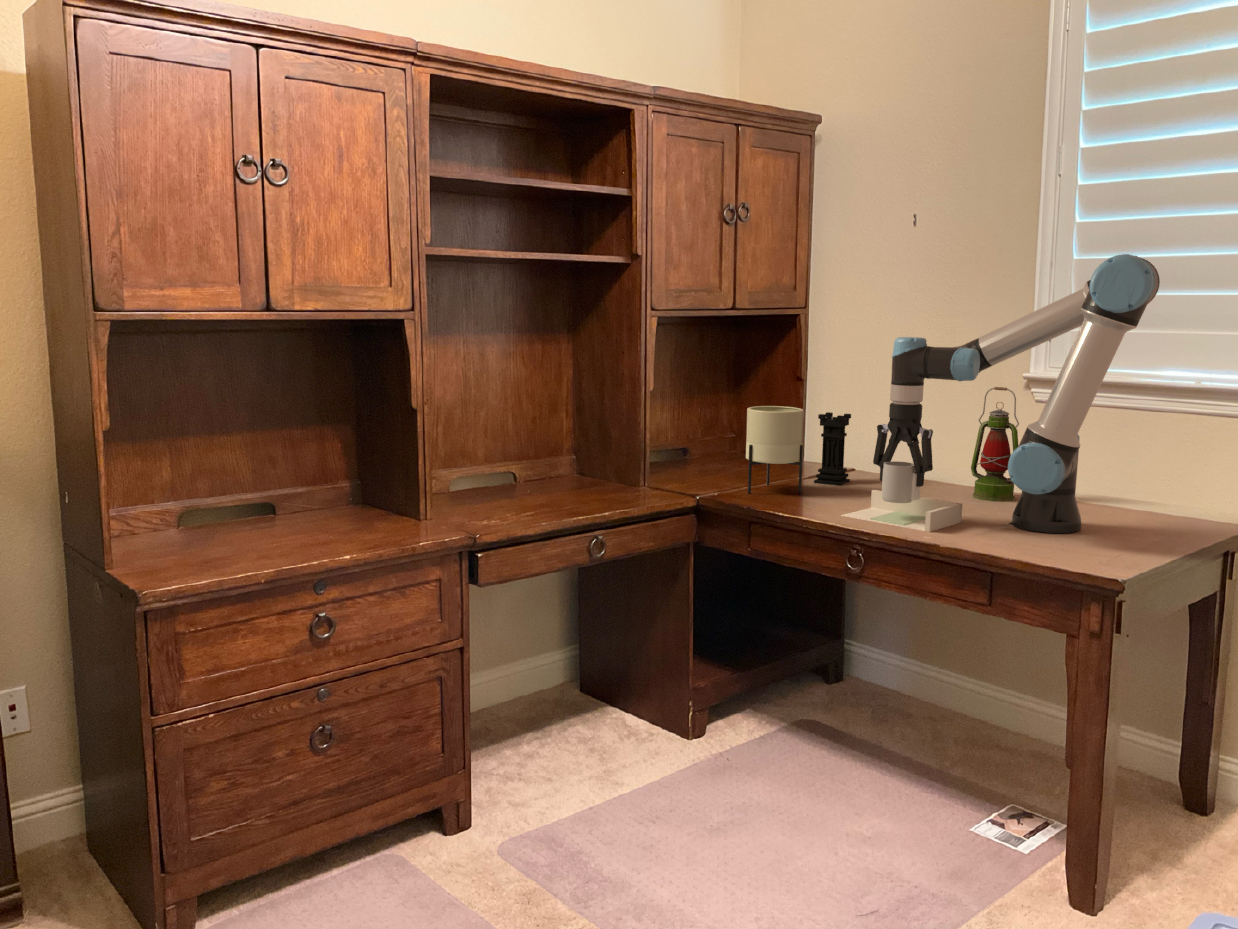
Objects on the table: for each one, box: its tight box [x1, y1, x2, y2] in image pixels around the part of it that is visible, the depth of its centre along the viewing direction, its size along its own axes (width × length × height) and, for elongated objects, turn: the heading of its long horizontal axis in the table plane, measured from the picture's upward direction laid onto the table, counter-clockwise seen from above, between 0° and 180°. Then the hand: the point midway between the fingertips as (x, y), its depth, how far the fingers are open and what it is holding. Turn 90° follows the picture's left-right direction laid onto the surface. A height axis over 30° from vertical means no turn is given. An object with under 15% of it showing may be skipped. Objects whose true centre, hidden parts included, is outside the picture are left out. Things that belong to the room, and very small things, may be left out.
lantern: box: [970, 386, 1020, 503], centre depth 275 cm, size 14×11×30 cm
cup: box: [881, 461, 916, 503], centre depth 246 cm, size 7×10×9 cm
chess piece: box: [813, 412, 852, 487], centre depth 297 cm, size 8×8×20 cm
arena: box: [840, 489, 963, 533], centre depth 247 cm, size 24×15×5 cm, turn 44°
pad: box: [870, 511, 926, 525], centre depth 247 cm, size 9×12×1 cm
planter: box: [745, 405, 804, 495], centre depth 282 cm, size 15×16×23 cm
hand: (900, 497), depth 246 cm, fingers closed on cup, 7 cm apart
